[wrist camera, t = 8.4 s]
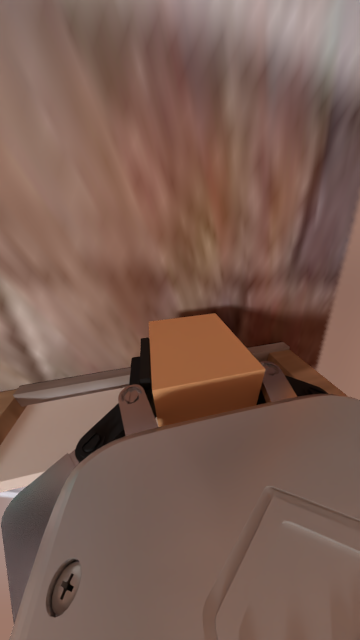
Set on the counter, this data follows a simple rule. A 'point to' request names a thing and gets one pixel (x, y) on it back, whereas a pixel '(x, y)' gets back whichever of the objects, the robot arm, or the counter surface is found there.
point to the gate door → (49, 435)
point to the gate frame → (9, 405)
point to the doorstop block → (200, 369)
